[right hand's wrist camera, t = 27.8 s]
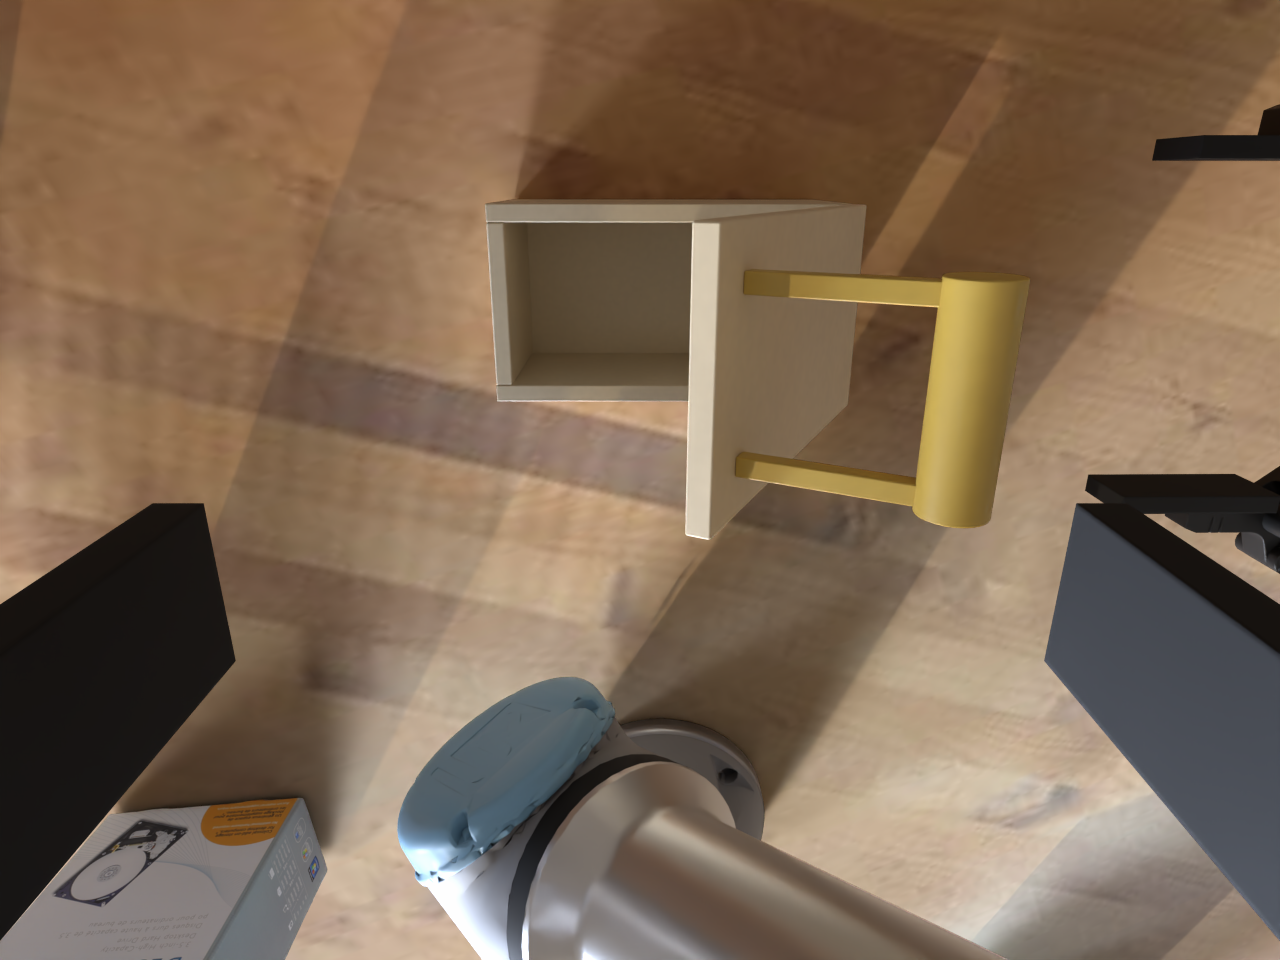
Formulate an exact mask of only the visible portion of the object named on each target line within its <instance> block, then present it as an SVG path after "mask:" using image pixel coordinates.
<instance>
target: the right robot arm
mask: <svg viewBox="0 0 1280 960" xmlns="http://www.w3.org/2000/svg"><path fill="white" fill-rule="evenodd" d="M235 661H236V660H235V655H234V650H233V645H232V640H231V635H230V631H229V626H228V621H227V616H226V611H225V606H224V601H223V596H222V591H221V586H220V582H219V577H218V572H217V567H216V562H215V557H214V552H213V547H212V542H211V537H210V533H209V528H208V523H207V518H206V513H205V508H204V503H153V504H151V505H150V506H148V507H147V508H145V509H143V510H142V511H140V512H139V513H137V514H136V515H134V516H133V517H131V518H130V519H128V520H127V521H125V522H124V523H122V524H121V525H119V526H118V527H116V528H115V529H113V530H112V531H110V532H109V533H107V534H106V535H104V536H103V537H101V538H100V539H98V540H97V541H95V542H94V543H92V544H91V545H89V546H88V547H86V548H85V549H83V550H82V551H80V552H79V553H77V554H76V555H74V556H73V557H71V558H70V559H68V560H67V561H65V562H64V563H62V564H61V565H59V566H58V567H56V568H55V569H53V570H52V571H50V572H48V573H47V574H45V575H44V576H42V577H41V578H39V579H38V580H36V581H35V582H33V583H32V584H30V585H29V586H27V587H26V588H24V589H23V590H21V591H20V592H18V593H17V594H15V595H14V596H12V597H11V598H9V599H8V600H6V601H5V602H3V603H2V604H0V941H1V939H2V938H3V937H4V936H5V935H6V933H7V932H8V931H9V930H10V929H11V927H12V926H13V925H14V924H15V923H16V921H17V920H18V919H19V918H20V917H21V916H22V914H23V913H24V912H25V911H26V910H27V908H28V907H29V906H30V905H31V904H32V902H33V901H34V900H35V899H36V898H37V897H38V895H39V894H40V893H41V892H42V891H43V889H44V888H45V887H46V886H47V885H48V883H49V882H50V881H51V880H52V879H53V877H54V876H55V875H56V874H57V873H58V872H59V870H60V869H61V868H62V867H63V866H64V864H65V863H66V862H67V861H68V860H69V858H70V857H71V856H72V855H73V854H74V853H75V851H76V850H77V849H78V848H79V847H80V845H81V844H82V843H83V842H84V841H85V839H86V838H87V837H88V836H89V835H90V834H91V832H92V831H93V830H94V829H95V828H96V826H97V825H98V824H99V823H100V822H101V820H102V819H103V818H104V817H105V816H106V814H107V813H108V812H109V811H110V810H111V809H112V807H113V806H114V805H115V804H116V803H117V801H118V800H119V799H120V798H121V797H122V795H123V794H124V793H125V792H126V791H127V790H128V788H129V787H130V786H131V785H132V784H133V782H134V781H135V780H136V779H137V778H138V776H139V775H140V774H141V773H142V772H143V771H144V769H145V768H146V767H147V766H148V765H149V763H150V762H151V761H152V760H153V759H154V757H155V756H156V755H157V754H158V753H159V751H160V750H161V749H162V748H163V747H164V746H165V744H166V743H167V742H168V741H169V740H170V738H171V737H172V736H173V735H174V734H175V732H176V731H177V730H178V729H179V728H180V727H181V725H182V724H183V723H184V722H185V721H186V719H187V718H188V717H189V716H190V715H191V713H192V712H193V711H194V710H195V709H196V707H197V706H198V705H199V704H200V703H201V702H202V700H203V699H204V698H205V697H206V696H207V694H208V693H209V692H210V691H211V690H212V688H213V687H214V686H215V685H216V684H217V683H218V681H219V680H220V679H221V678H222V677H223V675H224V674H225V673H226V672H227V671H228V669H229V668H230V667H231V666H232V665H233V664H234V662H235ZM1044 661H1045V662H1046V664H1047V665H1048V666H1049V667H1050V668H1051V669H1052V671H1053V672H1054V673H1055V674H1056V675H1057V677H1058V678H1059V679H1060V680H1061V681H1062V683H1063V684H1064V685H1065V686H1066V687H1067V688H1068V690H1069V691H1070V692H1071V693H1072V694H1073V696H1074V697H1075V698H1076V699H1077V700H1078V702H1079V703H1080V704H1081V705H1082V706H1083V707H1084V709H1085V710H1086V711H1087V712H1088V713H1089V715H1090V716H1091V717H1092V718H1093V719H1094V721H1095V722H1096V723H1097V724H1098V725H1099V727H1100V728H1101V729H1102V730H1103V731H1104V732H1105V734H1106V735H1107V736H1108V737H1109V738H1110V740H1111V741H1112V742H1113V743H1114V744H1115V746H1116V747H1117V748H1118V749H1119V750H1120V751H1121V753H1122V754H1123V755H1124V756H1125V757H1126V759H1127V760H1128V761H1129V762H1130V763H1131V765H1132V766H1133V767H1134V768H1135V769H1136V771H1137V772H1138V773H1139V774H1140V775H1141V776H1142V778H1143V779H1144V780H1145V781H1146V782H1147V784H1148V785H1149V786H1150V787H1151V788H1152V790H1153V791H1154V792H1155V793H1156V794H1157V795H1158V797H1159V798H1160V799H1161V800H1162V801H1163V803H1164V804H1165V805H1166V806H1167V807H1168V809H1169V810H1170V811H1171V812H1172V813H1173V814H1174V816H1175V817H1176V818H1177V819H1178V820H1179V822H1180V823H1181V824H1182V825H1183V826H1184V828H1185V829H1186V830H1187V831H1188V832H1189V834H1190V835H1191V836H1192V837H1193V838H1194V839H1195V841H1196V842H1197V843H1198V844H1199V845H1200V847H1201V848H1202V849H1203V850H1204V851H1205V853H1206V854H1207V855H1208V856H1209V857H1210V858H1211V860H1212V861H1213V862H1214V863H1215V864H1216V866H1217V867H1218V868H1219V869H1220V870H1221V872H1222V873H1223V874H1224V875H1225V876H1226V877H1227V879H1228V880H1229V881H1230V882H1231V883H1232V885H1233V886H1234V887H1235V888H1236V889H1237V891H1238V892H1239V893H1240V894H1241V895H1242V897H1243V898H1244V899H1245V900H1246V901H1247V902H1248V904H1249V905H1250V906H1251V907H1252V908H1253V910H1254V911H1255V912H1256V913H1257V914H1258V916H1259V917H1260V918H1261V919H1262V920H1263V921H1264V923H1265V924H1266V925H1267V926H1268V927H1269V929H1270V930H1271V931H1272V932H1273V933H1274V935H1275V936H1276V937H1277V938H1278V939H1279V941H1280V604H1278V603H1277V602H1275V601H1274V600H1272V599H1271V598H1269V597H1268V596H1266V595H1265V594H1263V593H1262V592H1260V591H1259V590H1257V589H1256V588H1254V587H1253V586H1251V585H1250V584H1248V583H1247V582H1245V581H1244V580H1242V579H1241V578H1239V577H1238V576H1236V575H1235V574H1233V573H1232V572H1230V571H1228V570H1227V569H1225V568H1224V567H1222V566H1221V565H1219V564H1218V563H1216V562H1215V561H1213V560H1212V559H1210V558H1209V557H1207V556H1206V555H1204V554H1203V553H1201V552H1200V551H1198V550H1197V549H1195V548H1194V547H1192V546H1191V545H1189V544H1188V543H1186V542H1185V541H1183V540H1182V539H1180V538H1179V537H1177V536H1176V535H1174V534H1173V533H1171V532H1170V531H1168V530H1167V529H1165V528H1164V527H1162V526H1161V525H1159V524H1158V523H1156V522H1155V521H1153V520H1152V519H1150V518H1149V517H1147V516H1146V515H1144V514H1143V513H1141V512H1140V511H1138V510H1137V509H1135V508H1133V507H1132V506H1130V505H1129V504H1127V503H1076V508H1075V513H1074V518H1073V523H1072V528H1071V533H1070V537H1069V542H1068V547H1067V552H1066V557H1065V562H1064V567H1063V572H1062V577H1061V582H1060V586H1059V591H1058V596H1057V601H1056V606H1055V611H1054V616H1053V621H1052V626H1051V630H1050V635H1049V640H1048V645H1047V650H1046V655H1045V660H1044Z"/></svg>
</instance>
